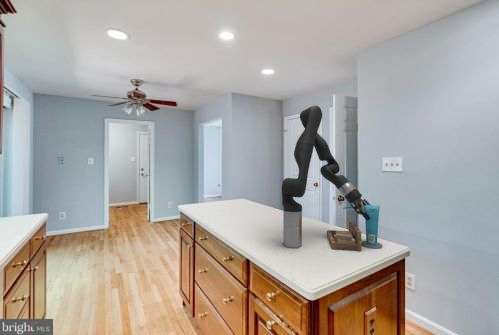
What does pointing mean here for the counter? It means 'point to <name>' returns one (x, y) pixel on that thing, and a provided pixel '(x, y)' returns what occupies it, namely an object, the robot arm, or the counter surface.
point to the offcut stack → (343, 237)
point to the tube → (372, 224)
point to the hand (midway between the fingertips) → (372, 218)
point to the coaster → (372, 245)
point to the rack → (346, 246)
